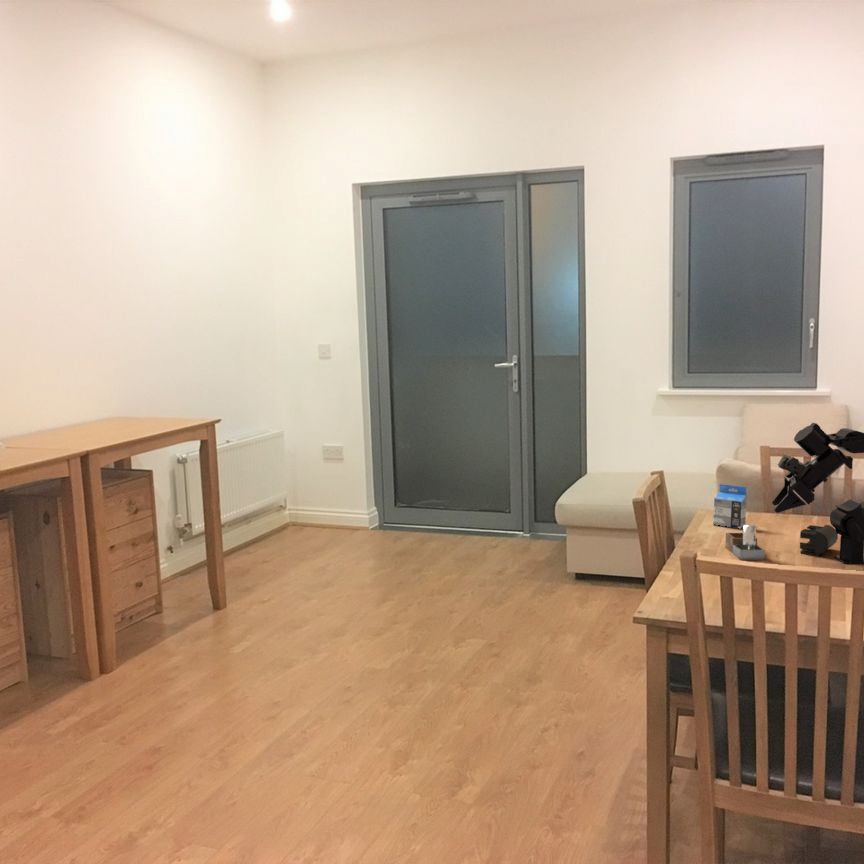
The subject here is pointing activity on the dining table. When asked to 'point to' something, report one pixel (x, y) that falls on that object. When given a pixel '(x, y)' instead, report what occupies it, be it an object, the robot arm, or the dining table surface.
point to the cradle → (748, 552)
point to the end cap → (818, 539)
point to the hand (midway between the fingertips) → (774, 507)
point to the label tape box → (730, 506)
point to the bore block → (734, 540)
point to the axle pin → (749, 537)
